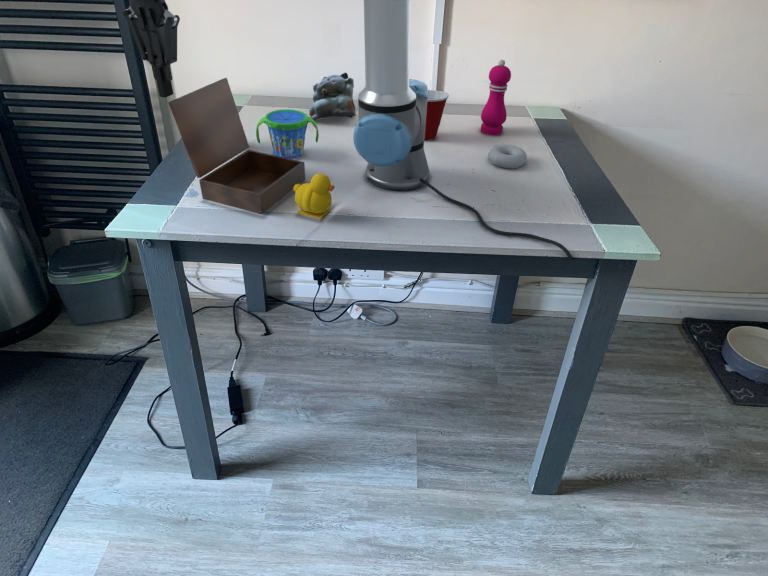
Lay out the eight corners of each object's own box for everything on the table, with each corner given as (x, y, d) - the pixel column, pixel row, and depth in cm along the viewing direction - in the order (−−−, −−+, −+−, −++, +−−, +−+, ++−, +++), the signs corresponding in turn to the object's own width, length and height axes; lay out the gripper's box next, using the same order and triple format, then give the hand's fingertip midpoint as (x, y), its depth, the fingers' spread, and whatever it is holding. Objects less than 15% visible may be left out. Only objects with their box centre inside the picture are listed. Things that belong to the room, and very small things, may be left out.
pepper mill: (509, 133, 161) (521, 61, 149) (490, 138, 158) (501, 64, 146) (491, 125, 166) (502, 54, 154) (473, 129, 162) (483, 58, 150)
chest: (305, 182, 132) (304, 161, 129) (262, 217, 119) (259, 195, 115) (250, 169, 137) (248, 149, 134) (203, 201, 123) (199, 179, 120)
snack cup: (320, 146, 149) (318, 109, 143) (318, 163, 141) (316, 124, 134) (261, 146, 148) (257, 108, 142) (255, 163, 140) (251, 123, 134)
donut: (530, 160, 147) (494, 151, 150) (533, 148, 145) (497, 138, 148) (518, 174, 140) (481, 164, 143) (520, 161, 138) (483, 151, 141)
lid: (226, 77, 125) (209, 80, 127) (170, 101, 111) (152, 104, 114) (249, 147, 133) (233, 148, 135) (200, 177, 120) (182, 178, 122)
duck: (288, 215, 120) (284, 173, 114) (302, 203, 124) (300, 162, 118) (327, 225, 117) (325, 183, 111) (340, 212, 121) (339, 171, 115)
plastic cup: (435, 127, 162) (439, 85, 155) (450, 141, 154) (455, 98, 147) (400, 130, 160) (403, 88, 152) (414, 145, 151) (417, 101, 144)
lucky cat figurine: (300, 120, 164) (298, 71, 162) (324, 125, 174) (323, 78, 172) (342, 115, 156) (340, 63, 154) (365, 120, 166) (364, 72, 164)
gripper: (182, -26, 109) (201, 95, 124) (130, -32, 113) (155, 86, 128) (155, -21, 104) (179, 105, 118) (101, -28, 108) (131, 95, 122)
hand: (166, 95), depth 123 cm, fingers closed
